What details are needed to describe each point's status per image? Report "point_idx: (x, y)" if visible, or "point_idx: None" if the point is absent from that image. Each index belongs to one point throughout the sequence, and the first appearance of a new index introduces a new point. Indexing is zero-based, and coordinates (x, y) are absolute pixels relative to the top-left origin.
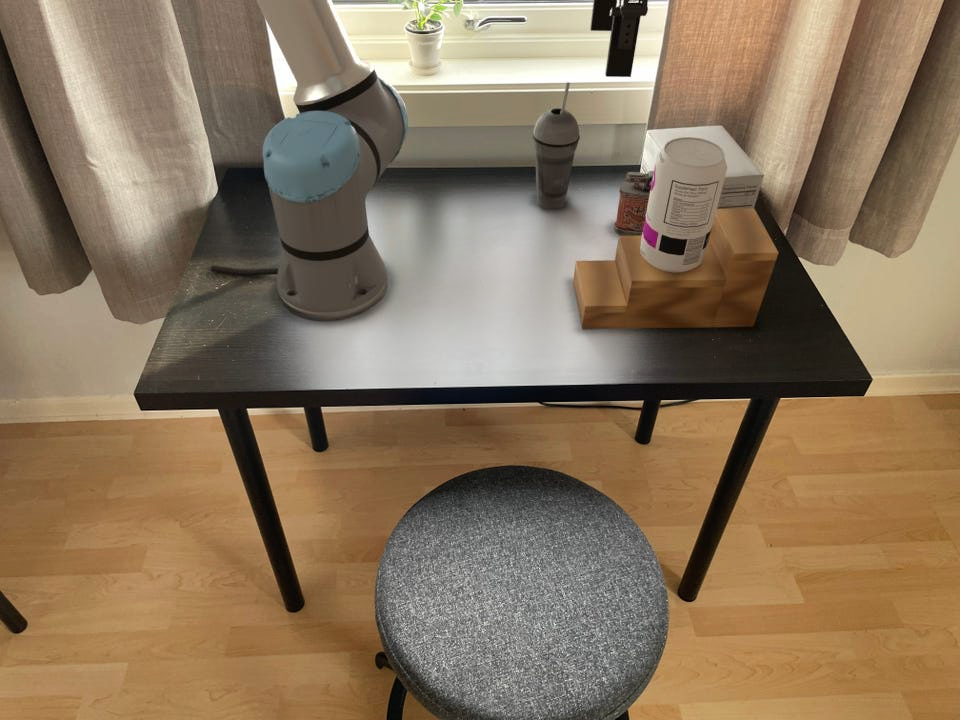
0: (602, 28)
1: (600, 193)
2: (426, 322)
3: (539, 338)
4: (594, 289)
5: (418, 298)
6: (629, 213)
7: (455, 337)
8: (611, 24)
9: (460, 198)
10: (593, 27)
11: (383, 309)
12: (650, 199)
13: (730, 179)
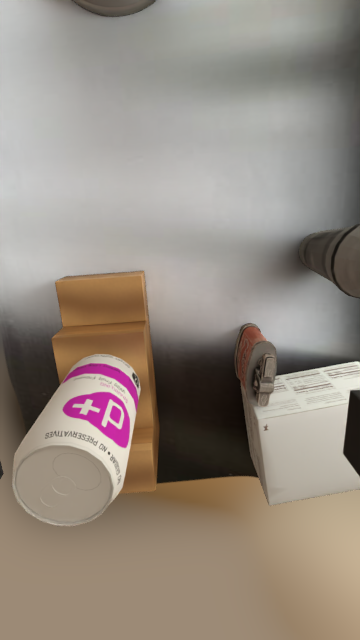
0: (349, 428)
1: (330, 313)
2: (52, 86)
3: (44, 230)
4: (87, 294)
5: (98, 69)
6: (245, 345)
7: (30, 128)
8: (353, 461)
9: (334, 117)
10: (354, 402)
11: (69, 18)
12: (78, 389)
13: (263, 470)
